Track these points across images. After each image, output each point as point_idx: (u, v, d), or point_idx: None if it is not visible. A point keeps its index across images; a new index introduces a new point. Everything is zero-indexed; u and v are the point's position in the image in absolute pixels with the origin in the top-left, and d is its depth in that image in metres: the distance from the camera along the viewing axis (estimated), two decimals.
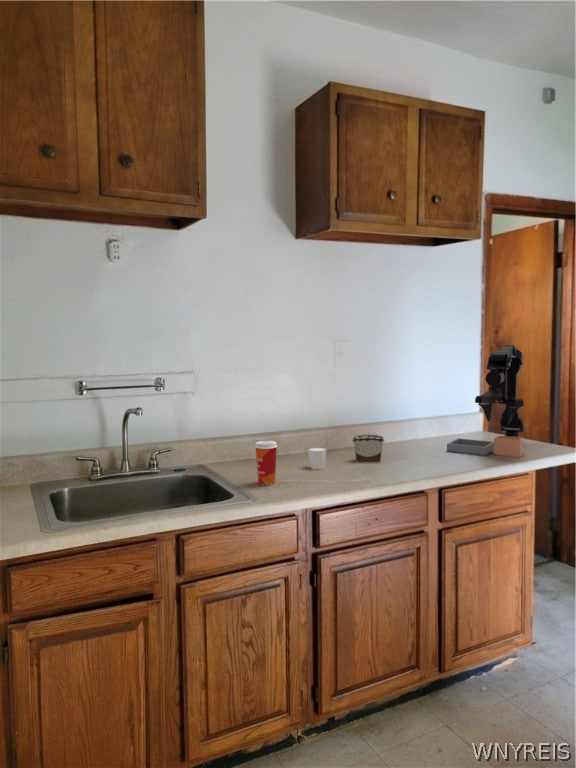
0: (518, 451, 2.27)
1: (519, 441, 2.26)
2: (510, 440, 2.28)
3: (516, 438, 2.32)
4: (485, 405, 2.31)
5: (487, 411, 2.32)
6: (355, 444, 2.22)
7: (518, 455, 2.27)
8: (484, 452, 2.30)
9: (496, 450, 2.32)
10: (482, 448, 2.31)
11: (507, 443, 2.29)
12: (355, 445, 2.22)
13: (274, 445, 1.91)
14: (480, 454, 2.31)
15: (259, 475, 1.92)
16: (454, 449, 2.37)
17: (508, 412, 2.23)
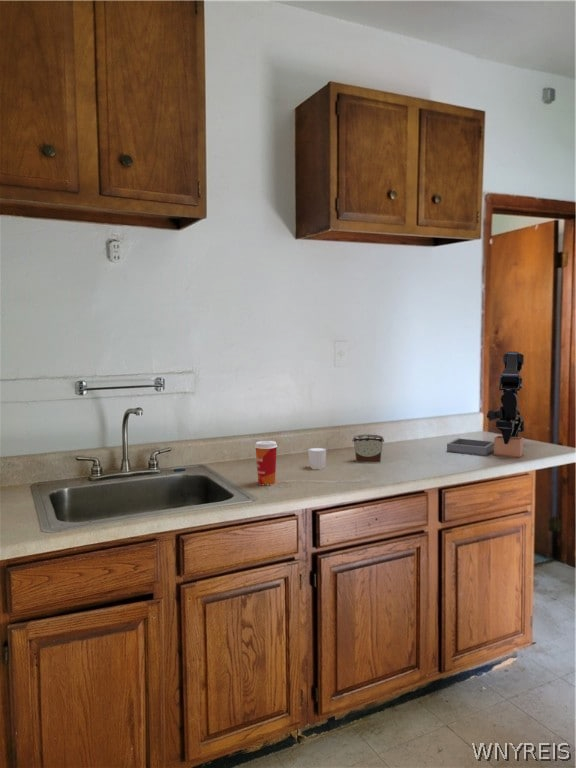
0: (518, 451, 2.27)
1: (519, 441, 2.26)
2: (510, 440, 2.28)
3: (516, 438, 2.32)
4: None
5: None
6: (355, 444, 2.22)
7: (518, 455, 2.27)
8: (484, 452, 2.30)
9: (496, 450, 2.32)
10: (482, 448, 2.31)
11: None
12: (355, 445, 2.22)
13: (274, 445, 1.91)
14: (480, 454, 2.31)
15: (259, 475, 1.92)
16: (454, 449, 2.37)
17: None
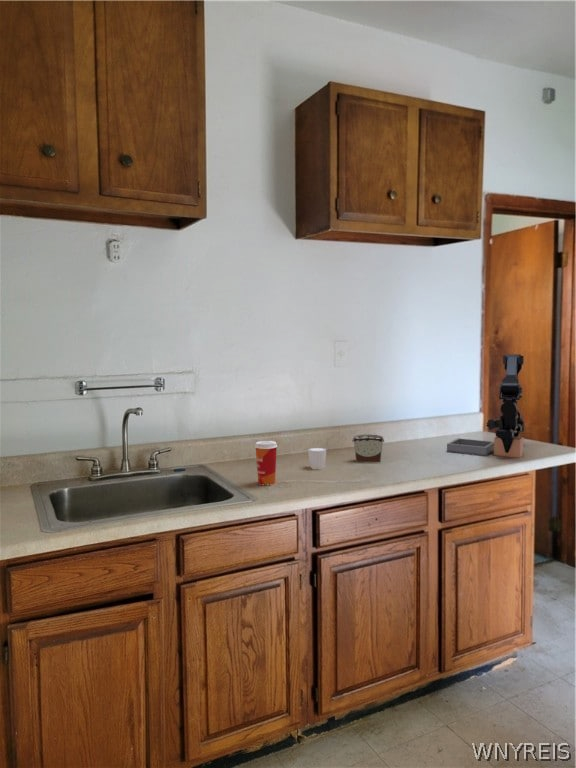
0: (518, 451, 2.27)
1: (519, 441, 2.26)
2: None
3: (516, 438, 2.32)
4: None
5: None
6: (355, 444, 2.22)
7: (518, 455, 2.27)
8: (484, 452, 2.30)
9: (496, 450, 2.32)
10: (482, 448, 2.31)
11: None
12: (355, 445, 2.22)
13: (274, 445, 1.91)
14: (480, 454, 2.31)
15: (259, 475, 1.92)
16: (454, 449, 2.37)
17: None
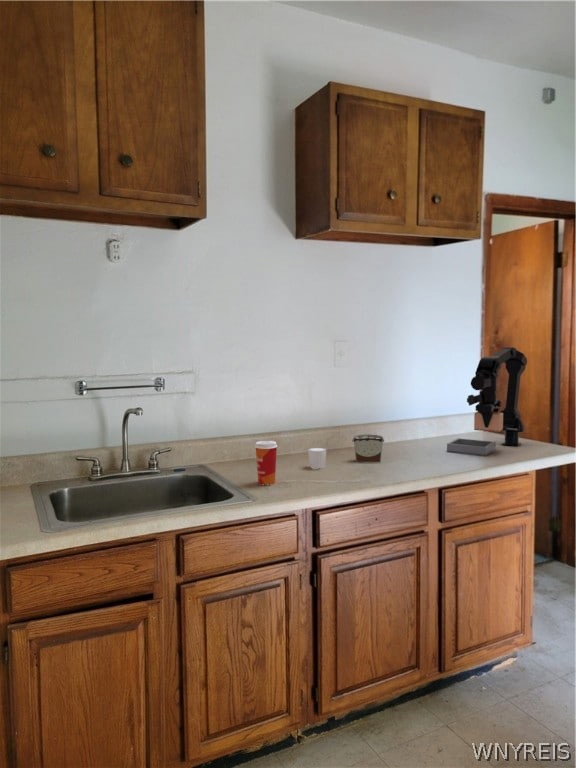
0: (498, 425, 2.30)
1: (498, 416, 2.30)
2: None
3: (496, 413, 2.36)
4: None
5: None
6: (355, 444, 2.22)
7: (498, 429, 2.31)
8: (484, 452, 2.30)
9: (476, 425, 2.35)
10: (482, 448, 2.31)
11: None
12: (355, 445, 2.22)
13: (274, 445, 1.91)
14: (480, 454, 2.31)
15: (259, 475, 1.92)
16: (454, 449, 2.37)
17: None
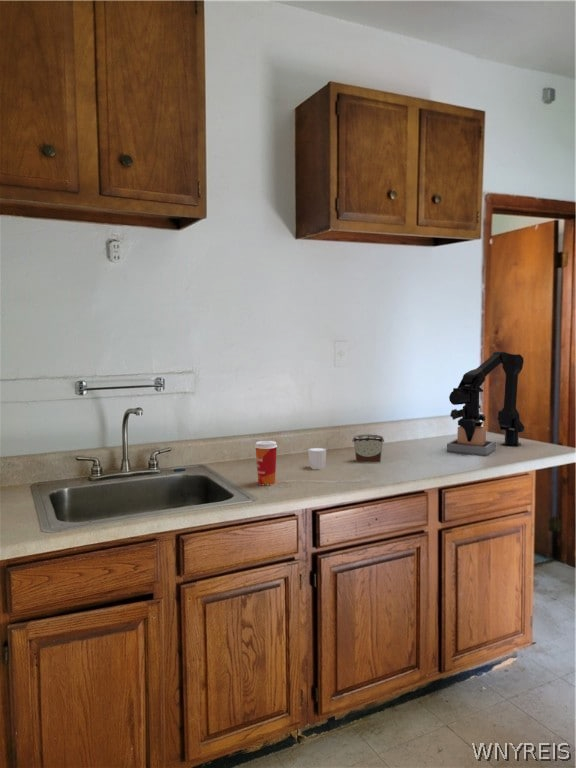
0: (480, 440, 2.35)
1: (481, 430, 2.34)
2: None
3: (479, 427, 2.40)
4: None
5: None
6: (355, 444, 2.22)
7: (480, 444, 2.35)
8: (484, 452, 2.30)
9: (459, 439, 2.40)
10: (482, 448, 2.31)
11: None
12: (355, 445, 2.22)
13: (274, 445, 1.91)
14: (480, 454, 2.31)
15: (259, 475, 1.92)
16: (454, 449, 2.37)
17: None
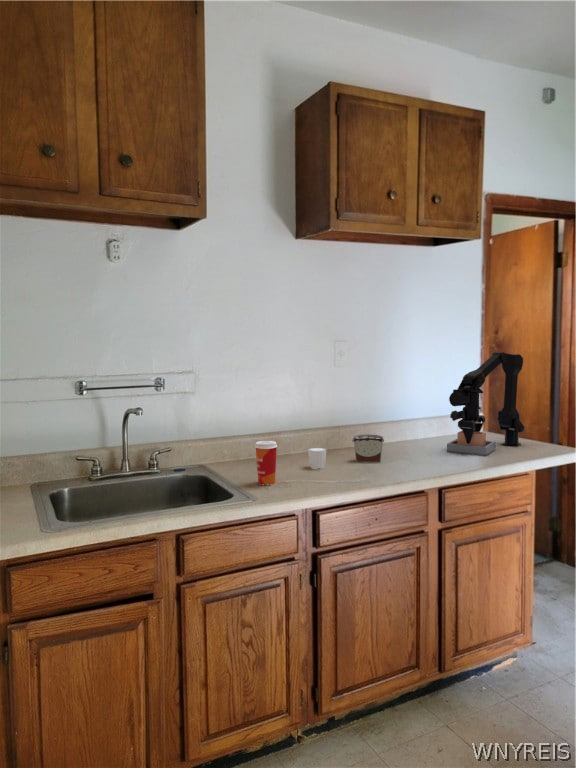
0: (480, 445, 2.35)
1: (481, 436, 2.35)
2: None
3: (479, 433, 2.40)
4: None
5: (473, 430, 2.44)
6: (355, 444, 2.22)
7: None
8: (484, 452, 2.30)
9: None
10: (482, 448, 2.31)
11: None
12: (355, 445, 2.22)
13: (274, 445, 1.91)
14: (480, 454, 2.31)
15: (259, 475, 1.92)
16: (454, 449, 2.37)
17: None
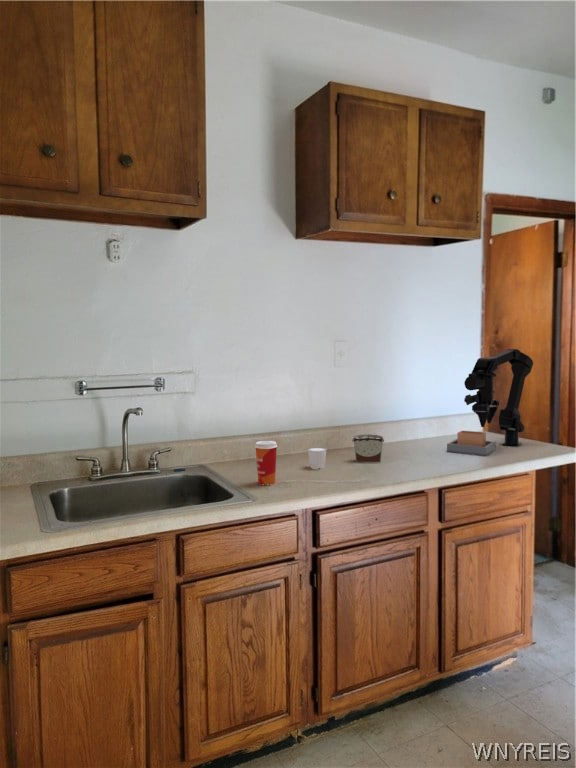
0: (480, 445, 2.35)
1: (481, 436, 2.35)
2: (472, 435, 2.36)
3: (479, 433, 2.40)
4: None
5: None
6: (355, 444, 2.22)
7: None
8: (484, 452, 2.30)
9: None
10: (482, 448, 2.31)
11: (469, 438, 2.37)
12: (355, 445, 2.22)
13: (274, 445, 1.91)
14: (480, 454, 2.31)
15: (259, 475, 1.92)
16: (454, 449, 2.37)
17: None
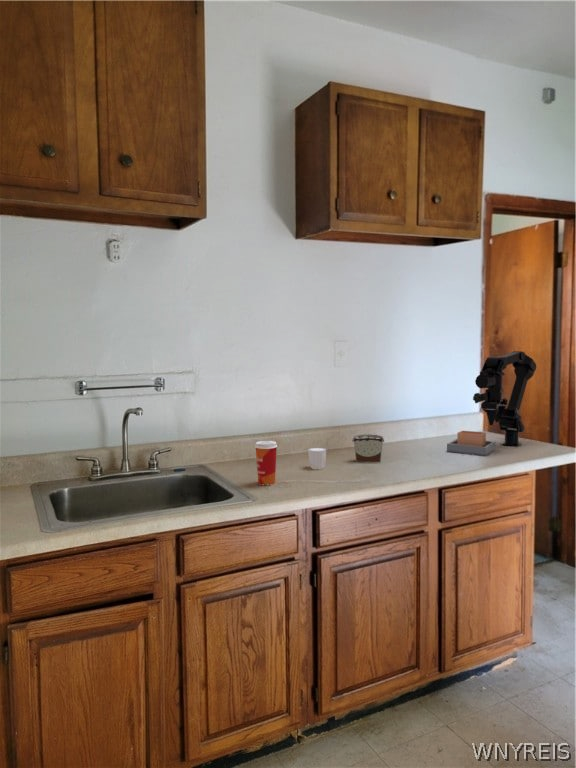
0: (480, 445, 2.35)
1: (481, 436, 2.35)
2: (472, 435, 2.36)
3: (479, 433, 2.40)
4: None
5: None
6: (355, 444, 2.22)
7: None
8: (484, 452, 2.30)
9: None
10: (482, 448, 2.31)
11: (469, 438, 2.37)
12: (355, 445, 2.22)
13: (274, 445, 1.91)
14: (480, 454, 2.31)
15: (259, 475, 1.92)
16: (454, 449, 2.37)
17: None
